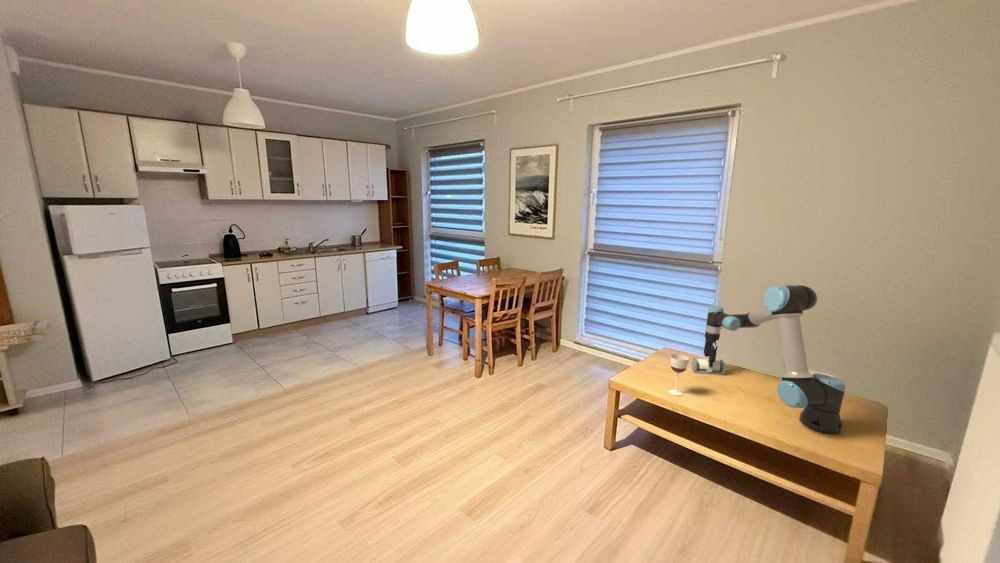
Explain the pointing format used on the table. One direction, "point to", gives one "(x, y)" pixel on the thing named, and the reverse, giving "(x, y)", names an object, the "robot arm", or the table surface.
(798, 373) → the robot arm
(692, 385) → the table surface
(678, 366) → the wineglass
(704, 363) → the paper roll
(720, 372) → the holder
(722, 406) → the table surface
